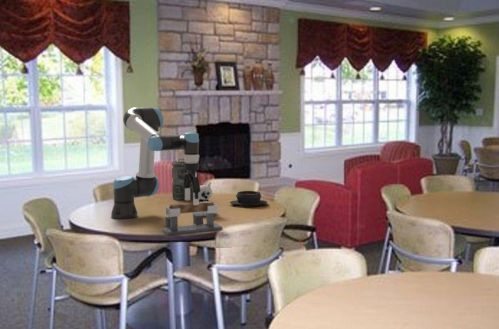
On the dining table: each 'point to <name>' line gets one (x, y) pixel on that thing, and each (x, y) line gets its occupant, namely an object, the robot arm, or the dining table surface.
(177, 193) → the canister
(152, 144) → the robot arm
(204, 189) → the decorative figurine
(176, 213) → the bracket stand
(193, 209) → the rail
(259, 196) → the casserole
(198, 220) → the rests
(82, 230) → the dining table surface
